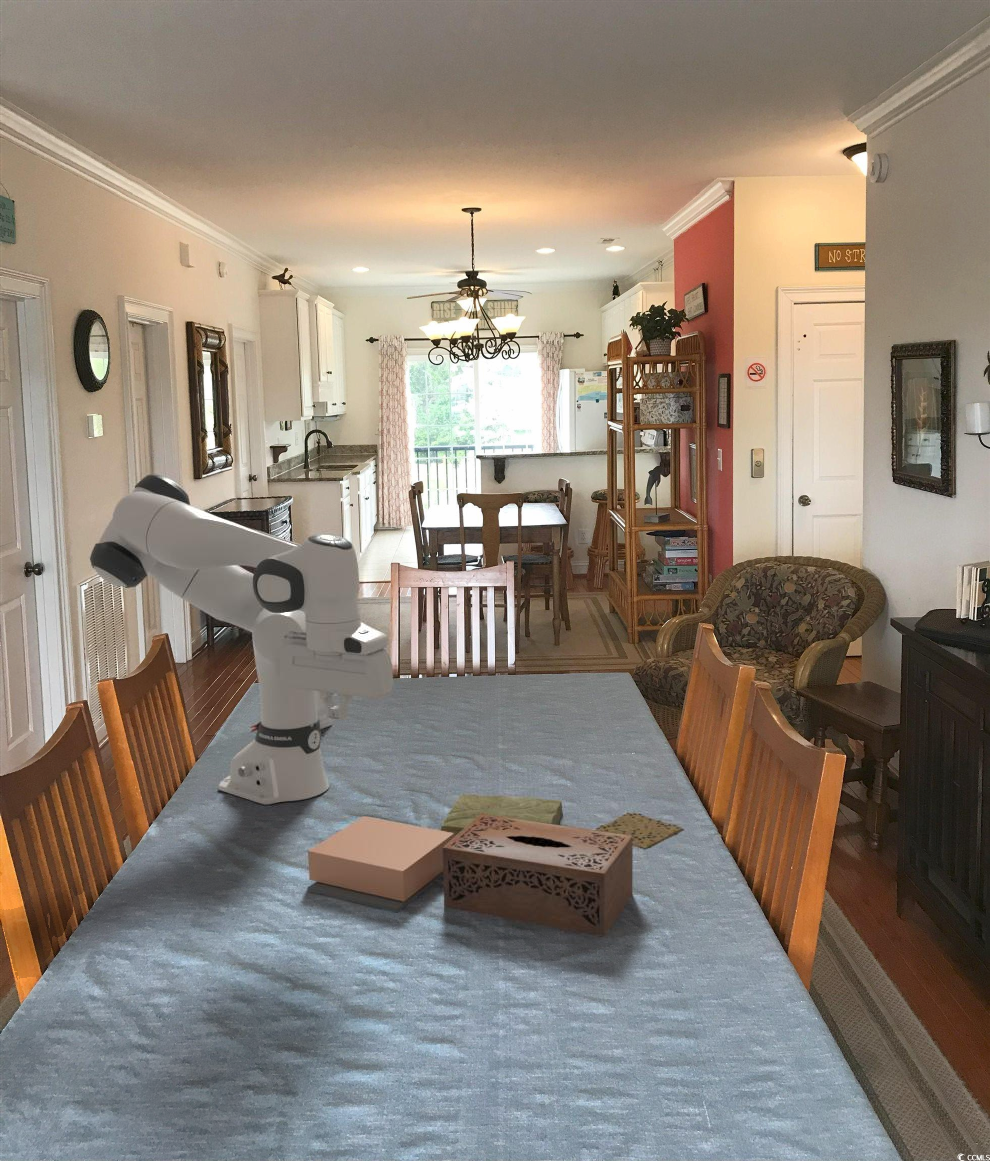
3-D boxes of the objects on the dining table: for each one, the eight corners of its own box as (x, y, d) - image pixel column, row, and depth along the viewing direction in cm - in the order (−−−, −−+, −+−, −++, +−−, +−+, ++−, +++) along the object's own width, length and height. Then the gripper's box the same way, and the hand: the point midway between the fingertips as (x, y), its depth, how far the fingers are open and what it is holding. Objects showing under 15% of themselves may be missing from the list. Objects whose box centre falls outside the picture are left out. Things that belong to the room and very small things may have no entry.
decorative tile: (459, 807, 209) (459, 790, 208) (563, 814, 205) (563, 796, 204) (434, 847, 191) (434, 828, 190) (547, 855, 187) (547, 835, 186)
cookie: (590, 833, 195) (590, 828, 195) (632, 814, 204) (632, 809, 204) (645, 852, 187) (645, 846, 187) (685, 831, 195) (685, 826, 195)
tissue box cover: (444, 908, 168) (442, 847, 166) (482, 870, 181) (480, 813, 179) (604, 938, 158) (604, 873, 156) (632, 896, 171) (632, 835, 169)
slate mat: (307, 891, 174) (307, 887, 174) (376, 844, 191) (376, 841, 191) (397, 912, 166) (397, 908, 166) (461, 861, 184) (461, 858, 183)
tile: (307, 850, 175) (403, 871, 167) (363, 816, 189) (454, 833, 181) (309, 881, 176) (404, 903, 168) (365, 844, 190) (454, 862, 182)
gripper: (269, 633, 178) (273, 715, 180) (375, 645, 169) (378, 731, 171) (293, 626, 183) (297, 705, 186) (396, 637, 174) (399, 720, 177)
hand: (336, 718), depth 178 cm, fingers closed
